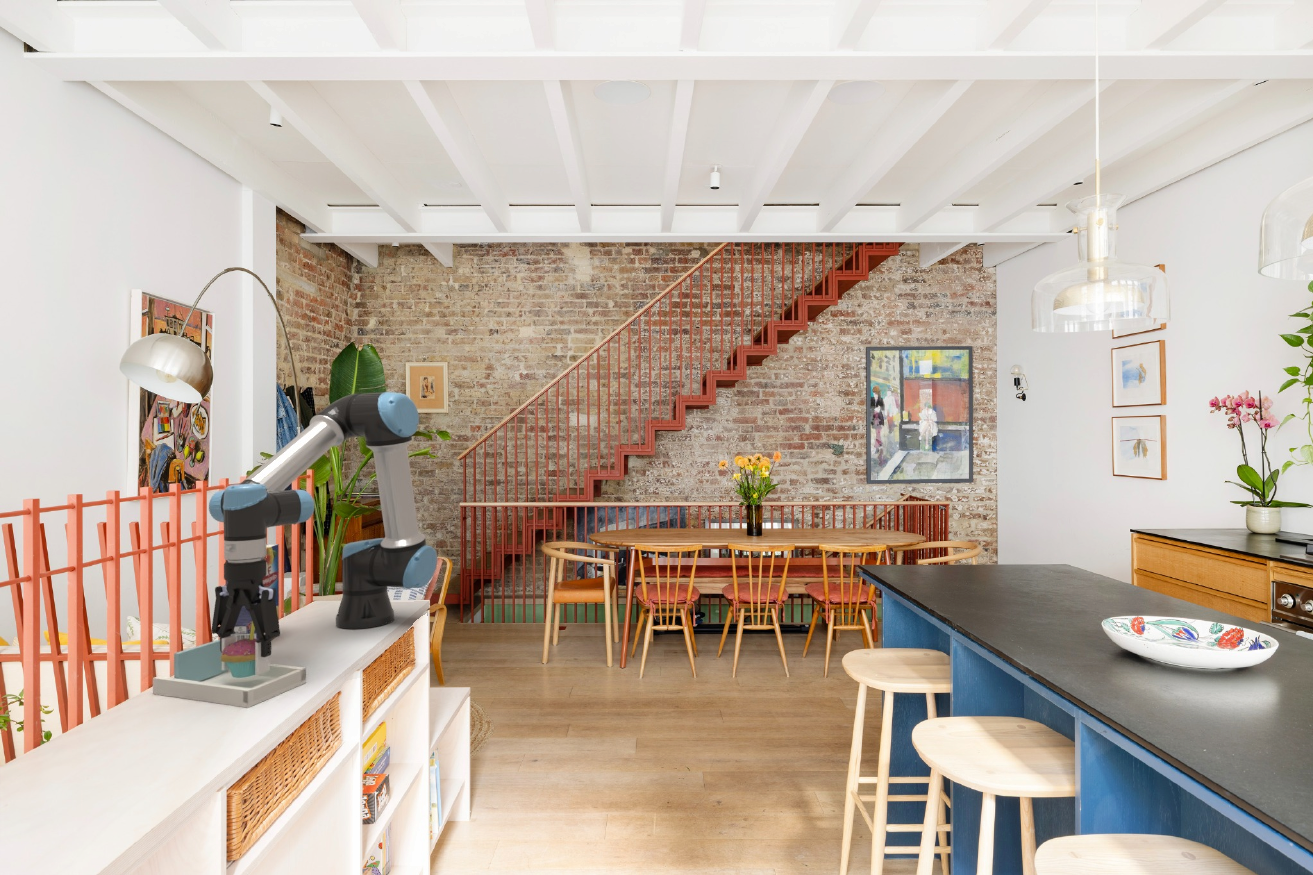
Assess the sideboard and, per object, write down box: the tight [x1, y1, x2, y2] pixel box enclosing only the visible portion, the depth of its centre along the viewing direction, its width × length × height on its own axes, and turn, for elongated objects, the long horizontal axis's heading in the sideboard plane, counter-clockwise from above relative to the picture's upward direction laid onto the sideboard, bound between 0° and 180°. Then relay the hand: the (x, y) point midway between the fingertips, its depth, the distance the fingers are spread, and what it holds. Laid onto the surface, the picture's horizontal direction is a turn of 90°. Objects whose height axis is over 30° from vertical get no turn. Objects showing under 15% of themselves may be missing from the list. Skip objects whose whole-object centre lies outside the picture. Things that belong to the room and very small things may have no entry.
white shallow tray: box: [152, 662, 307, 708], centre depth 142 cm, size 14×25×3 cm, turn 72°
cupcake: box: [221, 621, 259, 678], centre depth 141 cm, size 9×8×12 cm
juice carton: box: [225, 543, 280, 642], centre depth 175 cm, size 12×8×24 cm, turn 7°
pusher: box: [173, 639, 227, 681], centre depth 145 cm, size 11×5×7 cm, turn 162°
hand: (245, 670), depth 141 cm, fingers closed on cupcake, 8 cm apart
